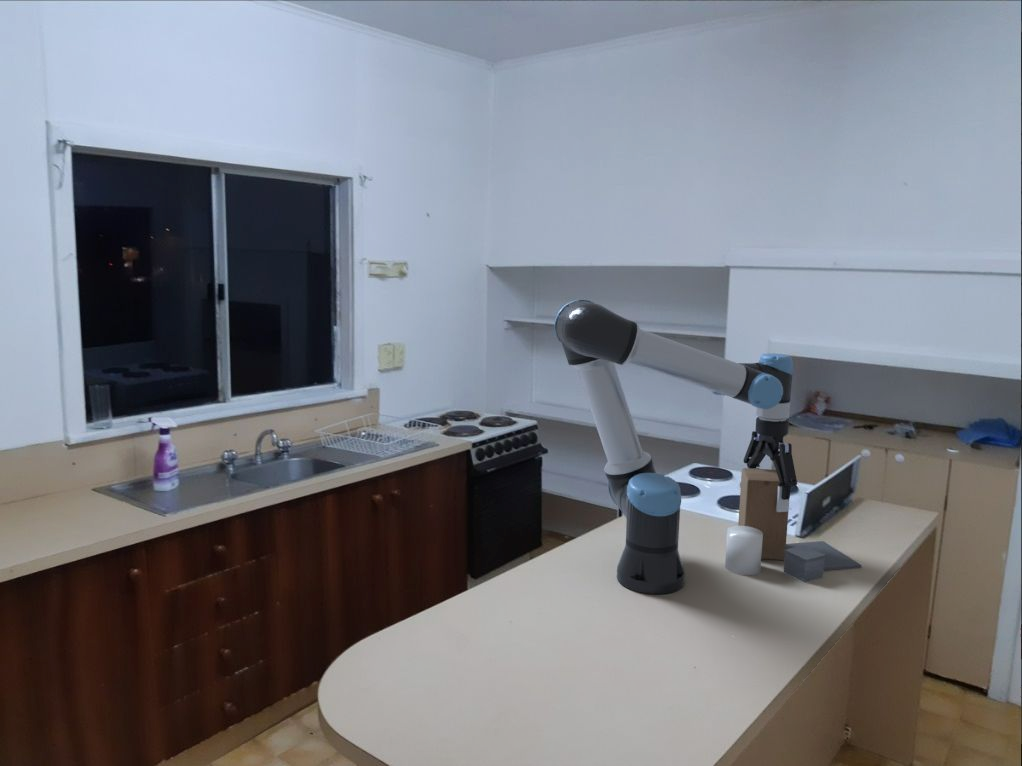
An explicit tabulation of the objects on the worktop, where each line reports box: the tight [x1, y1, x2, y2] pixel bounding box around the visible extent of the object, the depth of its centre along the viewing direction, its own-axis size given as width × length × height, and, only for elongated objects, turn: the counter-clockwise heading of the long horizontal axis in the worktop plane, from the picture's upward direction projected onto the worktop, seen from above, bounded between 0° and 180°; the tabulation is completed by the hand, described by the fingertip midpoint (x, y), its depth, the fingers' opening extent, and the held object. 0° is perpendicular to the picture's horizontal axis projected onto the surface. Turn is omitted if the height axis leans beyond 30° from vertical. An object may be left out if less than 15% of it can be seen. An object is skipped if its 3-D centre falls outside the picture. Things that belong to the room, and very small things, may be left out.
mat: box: [786, 540, 862, 572], centre depth 181 cm, size 12×15×1 cm
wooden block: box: [737, 467, 790, 561], centre depth 182 cm, size 10×10×20 cm
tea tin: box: [783, 545, 826, 583], centre depth 170 cm, size 6×6×6 cm
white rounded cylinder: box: [724, 525, 763, 576], centre depth 174 cm, size 8×8×9 cm
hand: (766, 502), depth 182 cm, fingers open, 13 cm apart
